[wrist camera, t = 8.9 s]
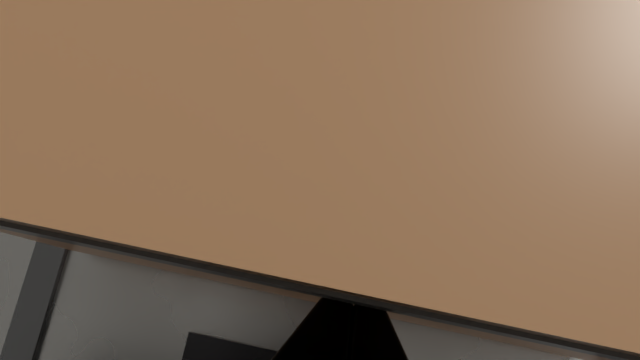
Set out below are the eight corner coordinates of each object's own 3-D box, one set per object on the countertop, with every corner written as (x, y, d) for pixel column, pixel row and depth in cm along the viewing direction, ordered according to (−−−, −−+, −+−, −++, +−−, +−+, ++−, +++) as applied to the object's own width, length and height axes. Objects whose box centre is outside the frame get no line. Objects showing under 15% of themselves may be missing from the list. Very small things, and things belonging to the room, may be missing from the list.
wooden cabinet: (605, 366, 13) (1059, 448, 5) (63, 251, 13) (-293, 161, 5) (622, 184, 14) (1032, 16, 6) (115, 81, 14) (-127, -206, 6)
